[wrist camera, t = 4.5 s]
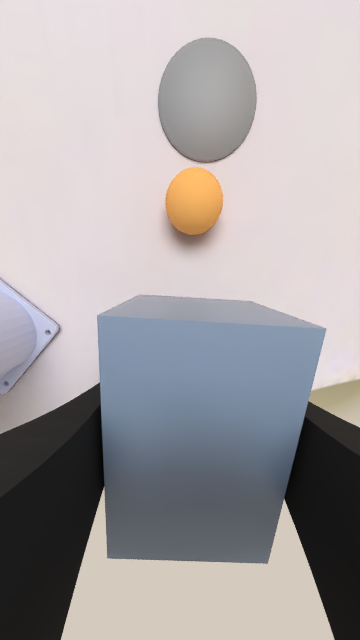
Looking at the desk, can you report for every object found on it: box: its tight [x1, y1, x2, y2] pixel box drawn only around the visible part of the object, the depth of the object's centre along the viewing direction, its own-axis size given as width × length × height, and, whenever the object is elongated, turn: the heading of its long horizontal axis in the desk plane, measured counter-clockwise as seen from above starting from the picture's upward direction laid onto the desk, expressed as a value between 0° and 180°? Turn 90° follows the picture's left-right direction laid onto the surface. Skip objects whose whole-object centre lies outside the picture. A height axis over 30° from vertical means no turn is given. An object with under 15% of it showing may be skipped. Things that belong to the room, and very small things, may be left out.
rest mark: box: [158, 38, 256, 162], centre depth 13 cm, size 7×7×1 cm
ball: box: [166, 167, 223, 235], centre depth 13 cm, size 4×4×4 cm
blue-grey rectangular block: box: [97, 295, 326, 564], centre depth 8 cm, size 9×6×5 cm, turn 177°
